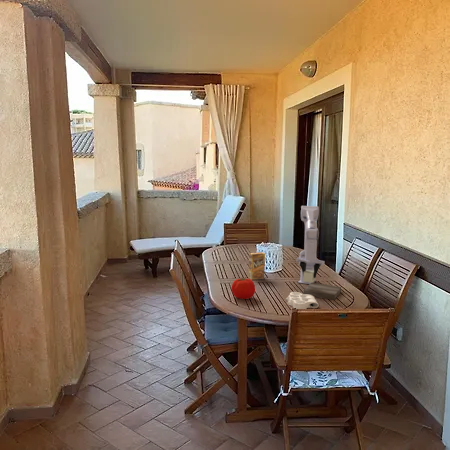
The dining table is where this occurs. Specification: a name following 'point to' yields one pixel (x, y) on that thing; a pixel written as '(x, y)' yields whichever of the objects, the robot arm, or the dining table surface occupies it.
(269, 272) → the dining table surface
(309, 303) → the white brass knuckles
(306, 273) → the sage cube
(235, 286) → the tomato
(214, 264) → the dining table surface
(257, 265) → the candy box
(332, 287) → the taupe base
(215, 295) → the dining table surface
